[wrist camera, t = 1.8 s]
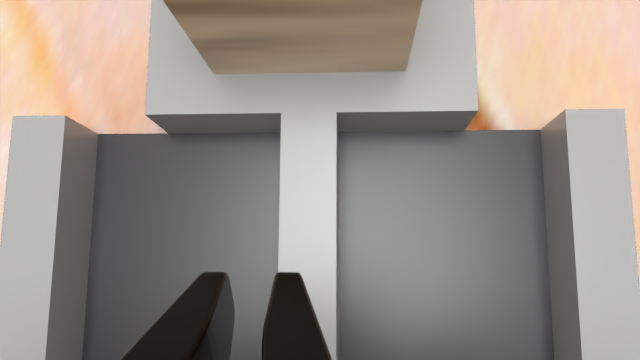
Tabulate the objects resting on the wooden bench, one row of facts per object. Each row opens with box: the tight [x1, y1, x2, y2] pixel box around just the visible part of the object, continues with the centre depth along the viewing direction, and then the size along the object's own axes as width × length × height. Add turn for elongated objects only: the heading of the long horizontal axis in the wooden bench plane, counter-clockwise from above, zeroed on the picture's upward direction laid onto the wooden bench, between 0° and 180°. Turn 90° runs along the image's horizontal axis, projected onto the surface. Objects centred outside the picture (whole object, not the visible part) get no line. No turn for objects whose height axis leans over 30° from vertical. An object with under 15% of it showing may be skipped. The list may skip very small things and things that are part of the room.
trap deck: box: [0, 0, 640, 360], centre depth 23 cm, size 30×22×3 cm
